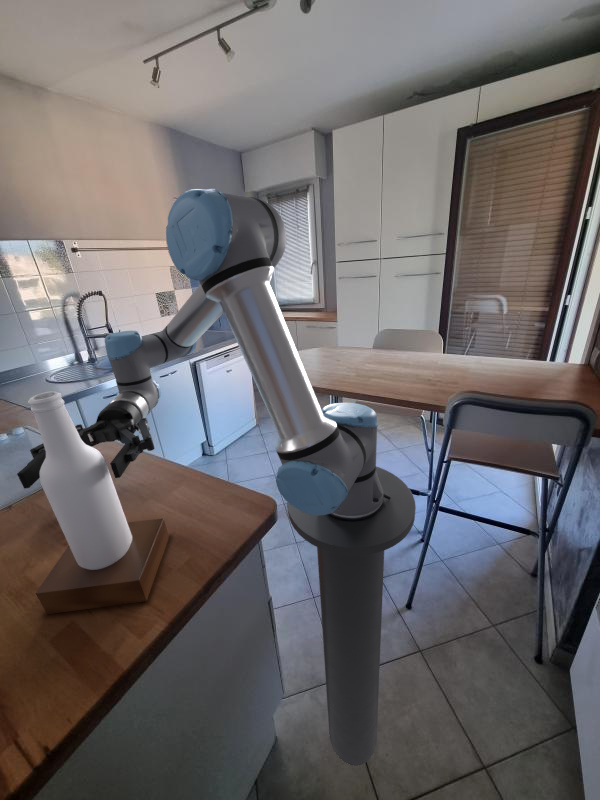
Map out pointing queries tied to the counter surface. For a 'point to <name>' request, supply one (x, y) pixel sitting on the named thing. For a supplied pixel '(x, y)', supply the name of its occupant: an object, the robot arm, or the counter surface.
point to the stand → (107, 574)
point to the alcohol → (79, 488)
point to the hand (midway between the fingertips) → (69, 475)
